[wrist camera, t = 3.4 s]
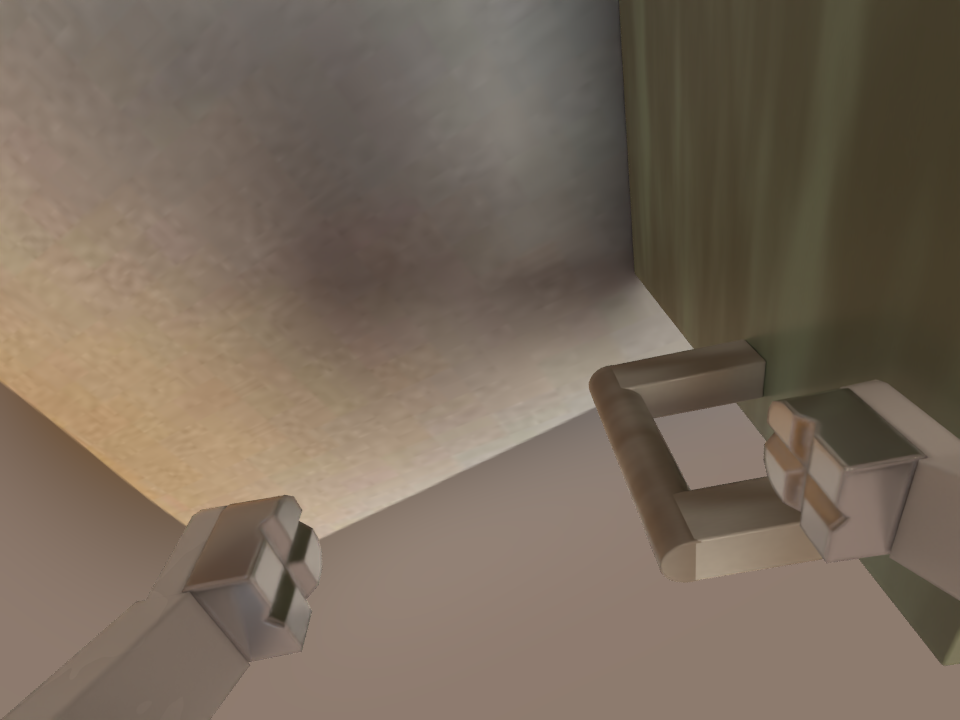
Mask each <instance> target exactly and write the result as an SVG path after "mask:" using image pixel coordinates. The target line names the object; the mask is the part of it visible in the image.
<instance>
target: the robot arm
mask: <svg viewBox="0 0 960 720" xmlns="http://www.w3.org/2000/svg"><path fill="white" fill-rule="evenodd" d="M767 423H768V424H769V426H770V427H771V428H772V429H773V431H774V433H773V435H772V436H771V437H770V438H769V439H768V440H767V441H766V443H765V444H764V463H765V468H766V472H767V476H768V479H769V481H770V483H771V485H772V487H773V489H774V491H775V492H776V494H777V495H778V497H779V498H780V499H781V501H782V502H783V503H784V504H786V505H788V506H790V507H792V508H794V509H796V510H798V511H800V512H801V517H800V524H799V526H800V528H801V529H802V530H803V532H804V533H805V535H806V536H807V537H808V539H809V540H810V541H811V543H812V544H813V546H814V547H815V548H816V550H817V551H818V552H819V554H820V555H821V557H822V558H823V559H824V561H825V562H826V563H831V562H838V561H844V560H851V559H859V558H866V557H873V556H880V555H887V554H890V556H889V558H891V559H893V560H894V561H896V562H897V563H899V564H901V565H902V566H904V567H906V568H907V569H909V570H910V571H912V572H914V573H915V574H917V575H919V576H920V577H922V578H923V579H925V580H927V581H928V582H930V583H932V584H933V585H935V586H936V587H938V588H940V589H941V590H943V591H945V592H946V593H948V594H949V595H951V596H953V597H954V598H956V599H958V600H959V601H960V439H958V438H957V437H956V436H955V435H953V434H952V433H951V432H949V431H948V430H947V429H946V428H944V427H943V426H942V425H940V424H939V423H938V422H937V421H935V420H934V419H933V418H932V417H930V416H929V415H928V414H926V413H925V412H924V411H923V410H921V409H920V408H919V407H917V406H916V405H915V404H914V403H912V402H911V401H910V400H908V399H907V398H906V397H905V396H903V395H902V394H901V393H900V392H898V391H897V390H896V389H894V388H893V387H892V386H891V385H889V384H888V383H886V382H883V381H879V380H872V381H867V382H863V383H858V384H853V385H848V386H843V387H841V388H837V389H831V390H826V391H821V392H816V393H811V394H806V395H801V396H796V397H791V398H786V399H781V400H776V401H772V403H771V405H770V406H769V408H768V414H767ZM301 513H302V509H301V507H300V506H299V504H298V503H297V501H296V499H295V498H294V496H288V495H283V496H277V497H271V498H265V499H259V500H253V501H247V502H241V503H235V504H230V505H228V506H221V507H215V508H209V509H203V510H200V511H199V512H197V513H196V514H195V515H193V516H192V518H191V520H190V521H189V523H188V525H187V527H186V528H185V531H184V532H183V534H182V536H181V538H180V539H179V541H178V543H177V545H176V547H175V548H174V550H173V552H172V554H171V556H170V558H169V559H168V561H167V563H166V565H165V566H164V568H163V570H162V572H161V573H160V575H159V577H158V579H157V581H156V582H155V584H154V586H153V588H152V590H151V592H150V593H149V595H148V597H147V599H146V600H142V601H137V602H135V603H134V604H133V605H132V606H131V607H129V608H128V609H127V610H126V611H125V612H124V613H123V614H122V615H120V616H119V617H118V618H117V619H116V620H114V622H112V623H111V624H110V625H109V626H108V627H106V628H105V629H104V630H103V631H102V632H101V633H100V634H98V635H97V636H96V637H95V638H94V639H93V640H92V641H90V642H89V643H88V644H87V645H86V646H85V647H84V648H82V649H81V650H80V651H79V652H78V653H77V654H75V655H74V656H73V657H72V658H71V659H70V660H69V661H67V662H66V663H65V664H64V665H63V666H62V667H61V668H60V669H58V670H57V671H56V672H55V673H54V674H53V675H51V676H50V677H49V678H48V679H47V680H46V681H45V682H43V683H42V684H41V685H40V686H39V687H38V688H37V689H36V690H34V691H33V692H32V693H31V694H30V695H28V696H27V697H26V698H25V699H24V700H23V701H22V702H21V703H20V704H18V705H17V706H16V707H15V708H14V709H12V710H11V711H10V712H9V713H8V714H7V715H6V716H4V717H3V718H2V719H1V720H210V719H211V718H212V716H213V715H214V714H215V712H216V711H217V710H218V708H219V707H220V705H221V704H222V703H223V701H224V700H225V699H226V697H227V696H228V695H229V693H230V692H231V690H232V689H233V688H234V686H235V685H236V684H237V682H238V681H239V679H240V678H241V677H242V675H243V674H244V673H245V671H246V670H247V668H248V667H249V666H250V664H249V663H248V662H252V661H257V660H262V659H267V658H272V657H277V656H282V655H287V654H292V653H297V652H302V648H303V644H304V640H305V637H306V632H307V629H308V625H309V621H310V617H311V613H312V610H311V608H310V606H309V604H308V603H307V601H306V599H307V598H308V597H309V596H310V594H311V593H312V592H313V591H314V590H315V589H316V587H317V586H318V585H319V580H320V576H321V571H322V551H321V547H320V543H319V540H318V537H317V535H316V534H315V532H314V530H313V528H311V527H309V526H307V525H306V524H304V523H302V522H300V521H299V519H300V516H301Z"/></svg>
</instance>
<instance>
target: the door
mask: <svg viewBox="0 0 960 720" xmlns="http://www.w3.org/2000/svg"><path fill="white" fill-rule="evenodd" d="M619 11H620V29H621V46H622V63H623V80H624V98H625V115H626V132H627V150H628V167H629V184H630V202H631V219H632V236H633V254H634V271H635V274H636V276H637V277H638V278H639V280H640V281H641V282H642V283H643V285H644V286H645V287H646V288H647V290H648V291H649V292H650V294H651V295H652V296H653V297H654V299H655V300H656V301H657V302H658V304H659V305H660V306H661V308H662V309H663V310H664V311H665V313H666V314H667V315H668V317H669V318H670V319H671V320H672V322H673V323H674V324H675V325H676V327H677V328H678V329H679V331H680V332H681V333H682V334H683V336H684V337H685V338H686V339H687V341H688V342H689V343H690V345H691V346H692V347H693V348H694V349H692V350H687V351H682V352H677V353H672V354H667V355H662V356H657V357H652V358H647V359H642V360H637V361H632V362H627V363H622V364H617V365H610V366H605V367H603V368H600V369H599V370H597V371H596V372H595V373H594V374H593V375H592V377H591V379H590V381H589V390H590V393H591V395H592V398H593V401H594V403H595V406H596V408H597V411H598V413H599V416H600V418H601V421H602V423H603V426H604V429H605V431H606V434H607V436H608V439H609V441H610V444H611V446H612V449H613V451H614V454H615V457H616V459H617V461H618V464H619V467H620V469H621V472H622V474H623V477H624V479H625V482H626V484H627V487H628V490H629V492H630V495H631V497H632V500H633V502H634V505H635V507H636V510H637V512H638V515H639V518H640V520H641V523H642V525H643V528H644V530H645V533H646V535H647V538H648V541H649V543H650V546H651V548H652V551H653V553H654V555H655V558H656V561H657V563H658V566H659V568H660V571H661V573H662V574H663V575H664V576H665V577H666V578H667V579H669V580H671V581H675V582H683V583H685V582H693V581H698V580H702V579H708V578H715V577H720V576H726V575H732V574H738V573H744V572H749V571H756V570H762V569H768V568H774V567H779V566H785V565H791V564H797V563H803V562H809V561H815V560H821V559H823V558H822V557H821V555H820V554H819V552H818V551H817V550H816V548H815V547H814V546H813V544H812V543H811V541H810V540H809V539H808V537H807V536H806V535H805V533H804V532H803V530H802V529H801V528H800V526H799V524H800V517H801V512H800V511H798V510H796V509H794V508H792V507H790V506H788V505H786V504H784V503H783V502H782V501H781V499H780V498H779V497H778V495H777V494H776V492H775V491H774V489H773V487H772V485H771V483H770V481H769V479H768V476H767V477H761V478H756V479H750V480H744V481H739V482H733V483H728V484H722V485H717V486H711V487H706V488H701V489H695V490H691V489H690V487H689V485H688V483H687V481H686V479H685V477H684V476H683V474H682V472H681V470H680V468H679V466H678V464H677V462H676V460H675V459H674V457H673V455H672V453H671V451H670V449H669V447H668V445H667V444H666V442H665V440H664V438H663V436H662V434H661V432H660V430H659V429H658V427H657V425H656V423H655V421H654V419H653V418H658V417H663V416H668V415H673V414H679V413H684V412H689V411H695V410H700V409H705V408H710V407H715V406H721V405H726V404H731V403H737V404H738V406H739V407H740V408H741V410H742V411H743V412H744V413H745V415H746V416H747V417H748V418H749V420H750V421H751V422H752V424H753V425H754V426H755V427H756V429H757V430H758V431H759V433H760V434H761V435H762V436H763V437H764V439H765V440H766V441H767V440H768V439H769V438H770V437H771V436H772V435H773V433H774V431H773V429H772V428H771V427H770V426H769V424H768V423H767V414H768V408H769V406H770V405H771V403H772V401H776V400H781V399H786V398H791V397H796V396H801V395H806V394H811V393H816V392H821V391H826V390H831V389H837V388H841V387H843V386H848V385H853V384H858V383H863V382H867V381H872V380H879V381H883V382H886V383H888V384H889V385H891V386H892V387H893V388H894V389H896V390H897V391H898V392H900V393H901V394H902V395H903V396H905V397H906V398H907V399H908V400H910V401H911V402H912V403H914V404H915V405H916V406H917V407H919V408H920V409H921V410H923V411H924V412H925V413H926V414H928V415H929V416H930V417H932V418H933V419H934V420H935V421H937V422H938V423H939V424H940V425H942V426H943V427H944V428H946V429H947V430H948V431H949V432H951V433H952V434H953V435H955V436H956V437H957V438H958V439H960V0H619ZM889 556H890V554H887V555H880V556H873V557H866V558H859V560H860V561H861V563H862V564H863V565H864V566H865V568H866V569H867V570H868V571H869V573H870V574H871V575H872V576H873V578H874V579H875V580H876V582H877V583H878V584H879V585H880V587H881V588H882V589H883V591H884V592H885V593H886V594H887V596H888V597H889V598H890V599H891V601H892V602H893V603H894V604H895V606H896V607H897V608H898V610H899V611H900V612H901V614H902V615H903V616H904V617H905V619H906V620H907V621H908V622H909V624H910V625H911V626H912V628H913V629H914V630H915V631H916V632H917V634H918V635H919V636H920V638H921V639H922V640H923V642H924V643H925V644H926V645H927V647H928V648H929V649H930V650H931V652H932V653H933V654H934V656H935V657H936V658H937V659H938V661H939V662H940V663H941V664H942V665H943V666H947V665H954V664H960V601H959V600H958V599H956V598H954V597H953V596H951V595H949V594H948V593H946V592H945V591H943V590H941V589H940V588H938V587H936V586H935V585H933V584H932V583H930V582H928V581H927V580H925V579H923V578H922V577H920V576H919V575H917V574H915V573H914V572H912V571H910V570H909V569H907V568H906V567H904V566H902V565H901V564H899V563H897V562H896V561H894V560H893V559H891V558H889Z"/></svg>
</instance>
